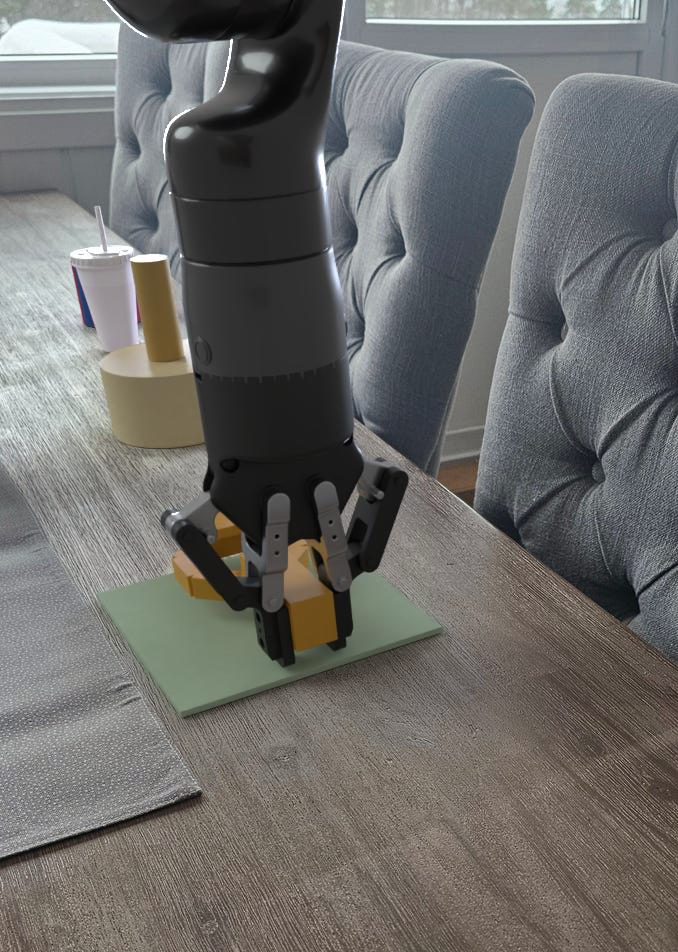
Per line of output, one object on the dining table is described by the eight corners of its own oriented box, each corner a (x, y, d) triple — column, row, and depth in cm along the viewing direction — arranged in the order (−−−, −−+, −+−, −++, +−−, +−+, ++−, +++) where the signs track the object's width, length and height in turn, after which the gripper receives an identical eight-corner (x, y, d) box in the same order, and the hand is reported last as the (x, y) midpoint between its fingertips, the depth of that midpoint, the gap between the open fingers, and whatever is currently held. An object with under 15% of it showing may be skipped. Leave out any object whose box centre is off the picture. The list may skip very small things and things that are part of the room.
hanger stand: (135, 458, 91) (100, 281, 84) (97, 420, 99) (62, 255, 92) (261, 430, 96) (238, 260, 89) (215, 396, 104) (191, 237, 97)
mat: (181, 718, 59) (180, 712, 59) (96, 599, 71) (95, 593, 71) (442, 632, 66) (442, 626, 66) (326, 536, 78) (326, 531, 78)
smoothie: (118, 359, 115) (89, 214, 107) (76, 350, 118) (45, 208, 110) (164, 343, 119) (140, 203, 112) (123, 335, 122) (96, 198, 115)
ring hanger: (154, 555, 72) (145, 512, 71) (266, 525, 76) (261, 484, 74) (251, 667, 60) (243, 618, 59) (380, 626, 64) (376, 579, 62)
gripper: (363, 307, 60) (385, 593, 69) (104, 354, 54) (167, 660, 63) (432, 339, 55) (447, 644, 64) (153, 394, 49) (214, 722, 58)
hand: (307, 650), depth 64 cm, fingers closed on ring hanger, 2 cm apart
